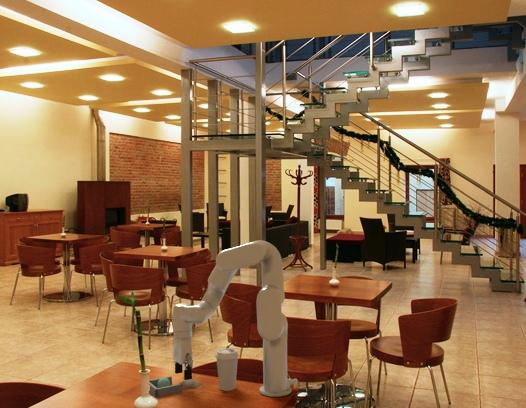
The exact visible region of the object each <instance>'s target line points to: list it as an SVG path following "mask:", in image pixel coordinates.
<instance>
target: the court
mask: <svg viewBox="0 0 526 408" xmlns="http://www.w3.org/2000/svg"><path fill="white" fill-rule="evenodd" d="M161 378H162V377H159V378H154V379H153V378H152V379H148V380H149V385H150V392H149V393H150V394H151V395H152V396H154V397H155V398H160V397H165V396H169V395H174V394H179V393H183V389H182V384H180V383H178V384H174V385H173V377H172V376H170V375H169V376H165V377H163V378H167V379H168V380H169V381H170V386H167V387H162V388H158V386H157V383H158V381H159V379H161Z"/></svg>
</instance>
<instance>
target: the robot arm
mask: <svg viewBox="0 0 526 408" xmlns="http://www.w3.org/2000/svg"><path fill="white" fill-rule="evenodd" d="M257 264H261V289H260V290H259V291H258V293H257V295H256V303H255V305H256V321H257V322H256V323H257V332H258V335H259V336H260V337H261V338H262V372H263V373H262V377H263V383H262V385H261V386H260V387H259V393H260V394H261V395H263V396H266V397H272V398H274V397H275V398H277V397H278V398H279V397H285V396H288V395H290V394H291V393H292V387H291V386H292V385H296V384H298V383H299V380H298V379H297V378H291V377H290V378H288V329H289V325H288V319H287V317H286V315H285V314H284V313H283V311H282V305H283V303H284V301H285V297H286V296H285V295H286V294H285V281H284V280H285V279H284V270H283V269H284V268H283V267H284V266H283V260H282V256H281V253H280V251H279V250H278V249H277V247H276V246H274V244H272V243H270V242H268V241H266V240H262V239H261V240H255V241H251V242H248V243H245V244H243V245H242V244H241V245H239V246H235V247H232V248H227V249H224V250H221V251H220V252H219V253H218V254H217V255H216V258H215V266H214V268H212V269H213V270H212V271H211V273H210V275H209V276H208V278H207V283H208V285H207V290H206V291H205V293H204V294H203V297H202V298H201V300H200V301H199V302H198V303H196V304H195V305H191V304H190V303H187V302H185V303H184V302H183V303H182V302H181V303H176V304H174V306H173V308H172V309H173V311H172V312H173V313H172V315H173V316H172V317H173V319H172V320H173V329H172V330H173V345H172V360H173V361H174V373H175V375H177V374H182V373H183V381H185V380H189V379H193V364H194V360H193V346H192V345H193V344H192V338H193V324H194V325H195V324H196V325H200V324H201V325H202V324H203V323H205V322H206V321H207V320H210V318H212V316H213V315H214V314H215V312H216V310H217V309H218V307H219V306H220V303H221V302H222V300H223V297H224V296H225V294H226V292H227V289H228V287H229V286H230V284H231V283H232V280H233V278H234V277H235V275H236V274H237V271H238V270H240V269H244V268H247V267H251V266H254V265H257Z"/></svg>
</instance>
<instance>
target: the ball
mask: <svg viewBox="0 0 526 408" xmlns="http://www.w3.org/2000/svg"><path fill="white" fill-rule="evenodd" d="M160 378H161V379H159V381H158V383H157V386H158V387H157V388H162V387H167V386H171V384H170V381H169V380H168V379H167V378H164V377H160Z"/></svg>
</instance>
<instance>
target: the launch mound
mask: <svg viewBox="0 0 526 408" xmlns="http://www.w3.org/2000/svg"><path fill="white" fill-rule="evenodd" d="M179 384H182V390H183V389H184V390H193V389H199V388H200V386H201V385H202V386H203V383H202V381H199V380H197V379H193V378H192V379H189V380H183V381H181V382H180V383H179ZM202 386H201V387H202ZM198 387H199V388H198Z"/></svg>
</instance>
